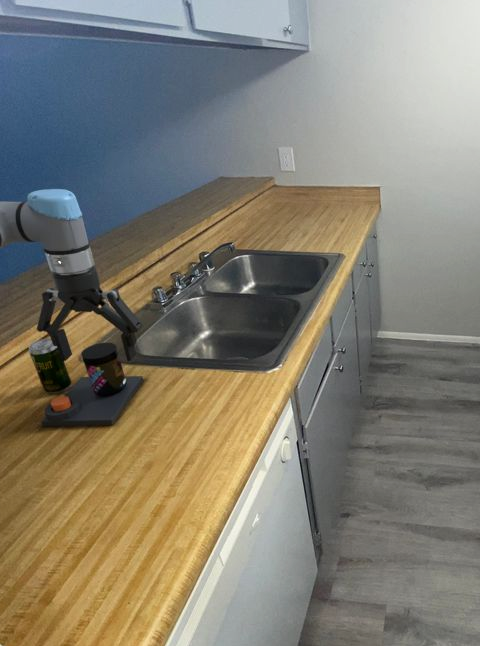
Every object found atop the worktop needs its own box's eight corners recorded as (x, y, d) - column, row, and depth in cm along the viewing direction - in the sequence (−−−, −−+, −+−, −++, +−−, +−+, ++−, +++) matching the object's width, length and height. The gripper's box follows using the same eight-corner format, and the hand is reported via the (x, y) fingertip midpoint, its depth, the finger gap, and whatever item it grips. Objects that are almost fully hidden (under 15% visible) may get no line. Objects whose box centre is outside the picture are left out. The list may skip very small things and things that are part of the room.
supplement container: (95, 383, 110) (82, 345, 105) (128, 377, 113) (117, 340, 108) (92, 400, 105) (79, 361, 100) (126, 393, 107) (115, 355, 103)
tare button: (50, 412, 99) (47, 405, 98) (58, 402, 102) (56, 396, 101) (66, 411, 99) (63, 405, 98) (74, 402, 102) (71, 395, 101)
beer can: (51, 381, 112) (34, 338, 107) (76, 380, 113) (61, 337, 108) (40, 395, 108) (22, 351, 102) (66, 393, 109) (49, 349, 103)
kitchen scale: (42, 426, 99) (37, 415, 97) (82, 381, 113) (79, 371, 112) (112, 425, 100) (109, 414, 99) (143, 380, 114) (140, 370, 113)
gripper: (-6, 275, 90) (29, 367, 100) (130, 277, 93) (151, 367, 103) (19, 260, 97) (49, 348, 107) (145, 263, 99) (164, 348, 109)
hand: (99, 357), depth 105 cm, fingers open, 13 cm apart
